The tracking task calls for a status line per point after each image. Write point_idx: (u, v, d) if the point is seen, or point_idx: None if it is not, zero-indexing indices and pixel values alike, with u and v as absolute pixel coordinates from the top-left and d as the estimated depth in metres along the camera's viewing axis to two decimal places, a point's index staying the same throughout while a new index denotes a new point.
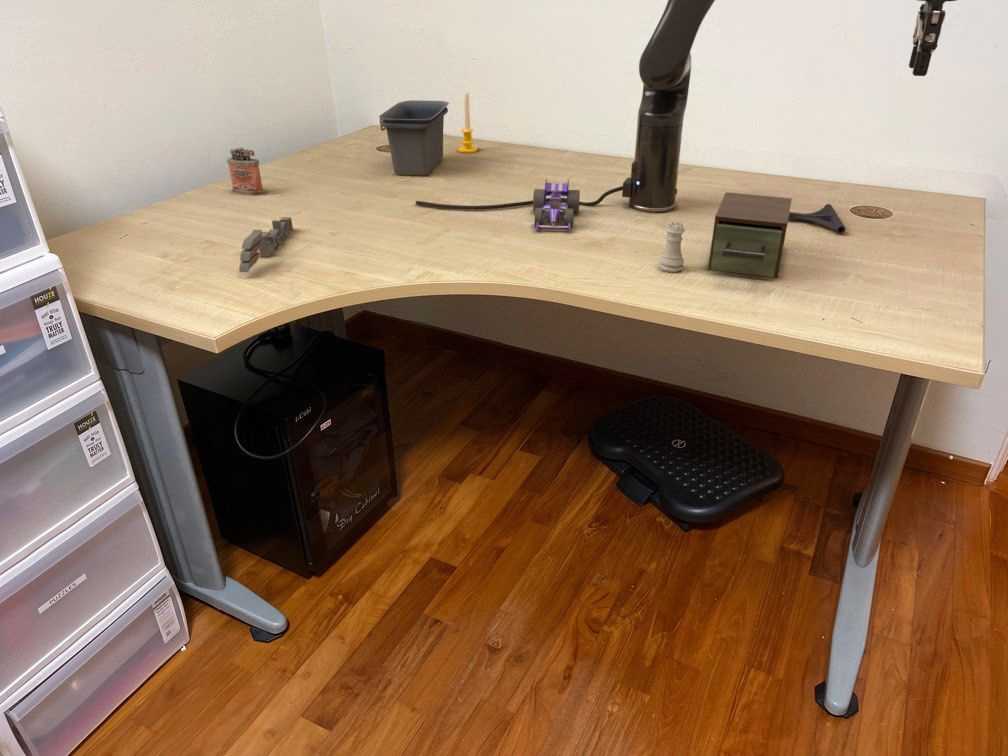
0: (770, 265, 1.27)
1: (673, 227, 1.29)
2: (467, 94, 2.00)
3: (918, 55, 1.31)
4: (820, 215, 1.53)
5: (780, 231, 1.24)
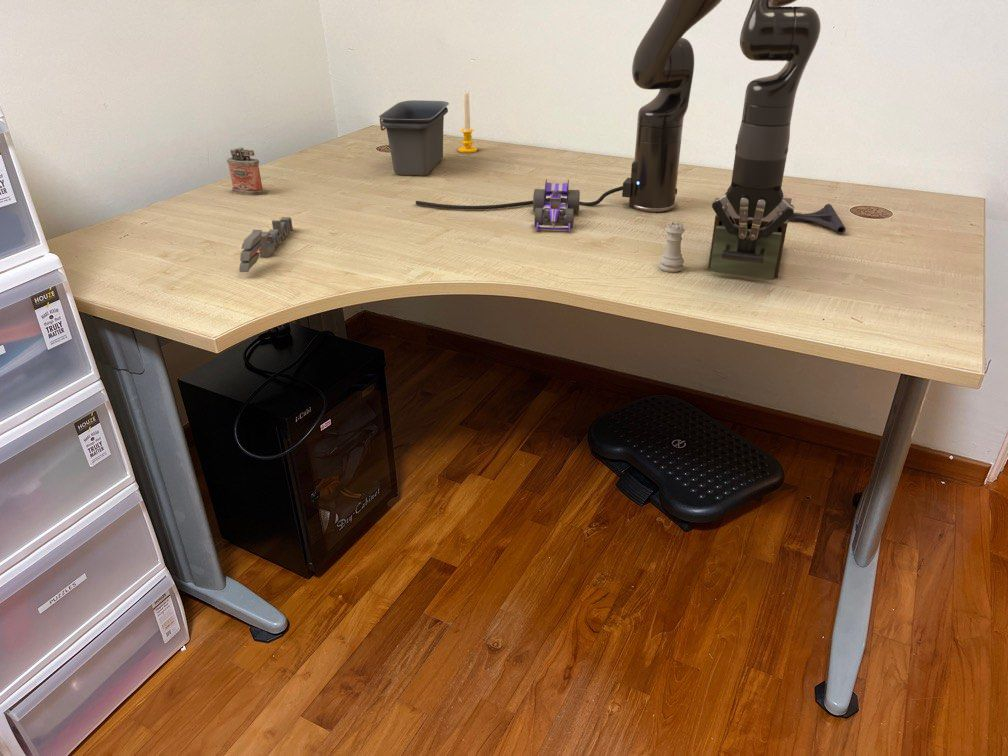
0: (770, 267, 1.26)
1: (673, 227, 1.29)
2: (467, 94, 2.00)
3: None
4: (820, 215, 1.53)
5: (780, 233, 1.23)
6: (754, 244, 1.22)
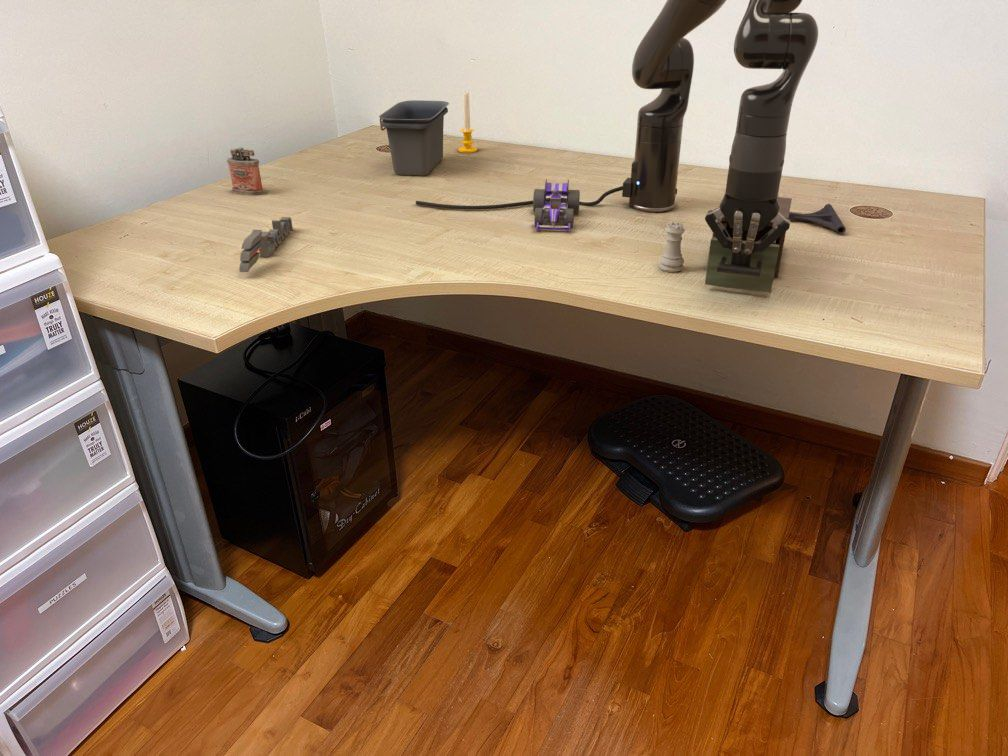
0: (767, 281, 1.21)
1: (673, 227, 1.29)
2: (467, 94, 2.00)
3: None
4: (820, 215, 1.53)
5: (777, 245, 1.19)
6: (749, 258, 1.17)
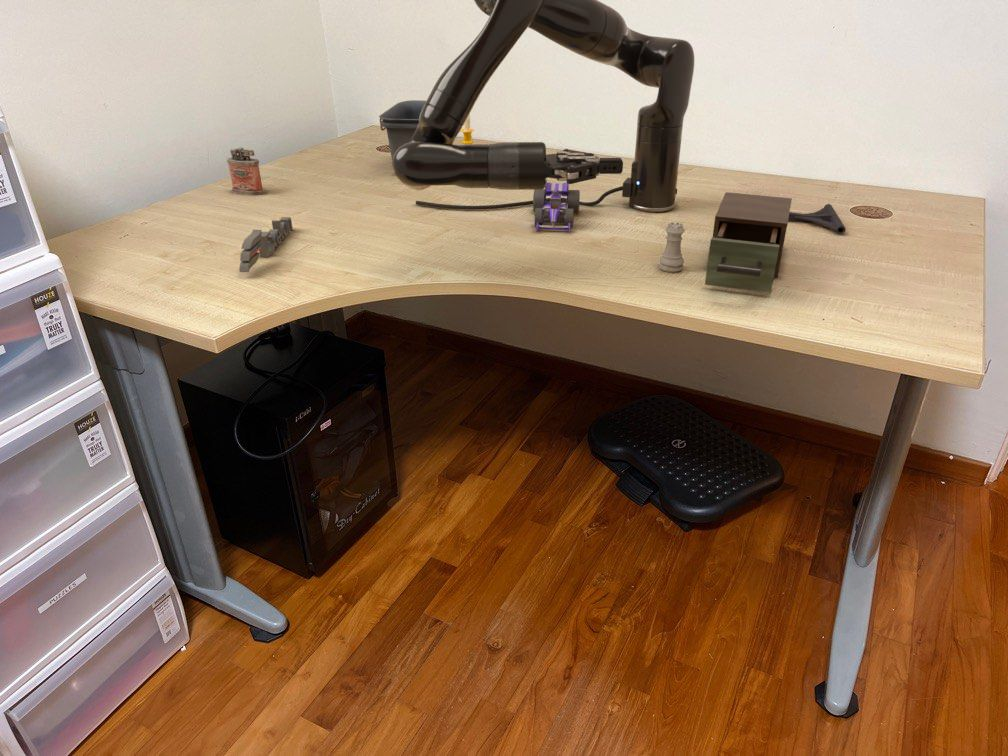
0: (767, 281, 1.21)
1: (673, 227, 1.29)
2: None
3: None
4: (820, 215, 1.53)
5: (777, 245, 1.19)
6: None
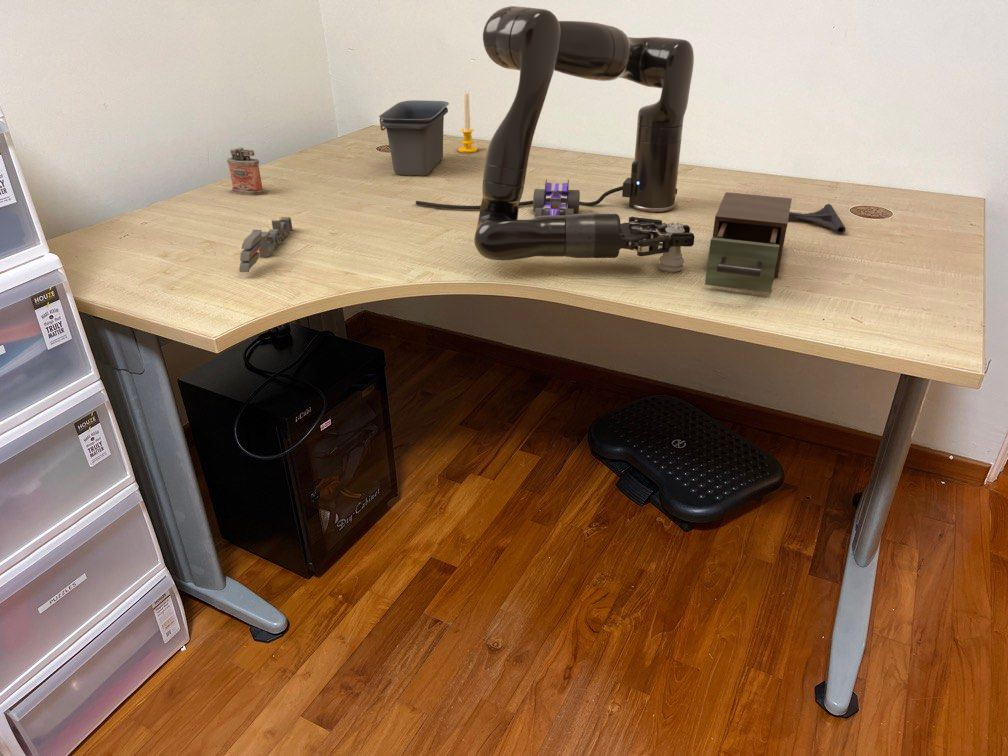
0: (767, 281, 1.21)
1: (673, 227, 1.29)
2: (467, 94, 2.00)
3: None
4: (820, 215, 1.53)
5: (777, 245, 1.19)
6: None
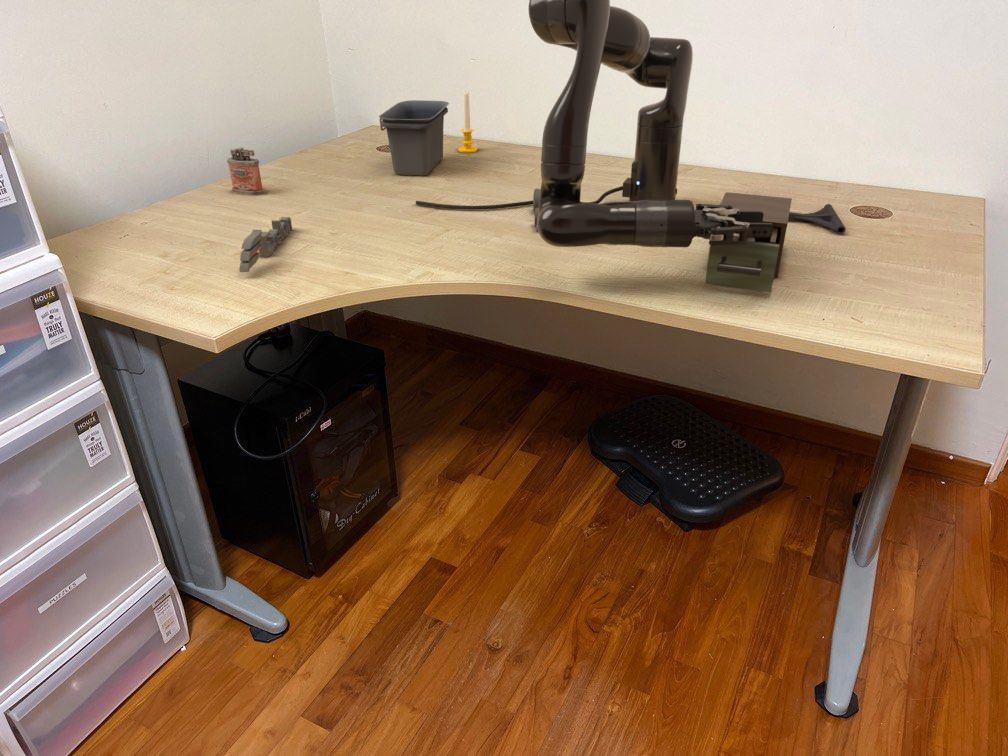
0: (767, 280, 1.21)
1: None
2: (467, 94, 2.00)
3: None
4: (820, 215, 1.53)
5: (777, 245, 1.19)
6: None
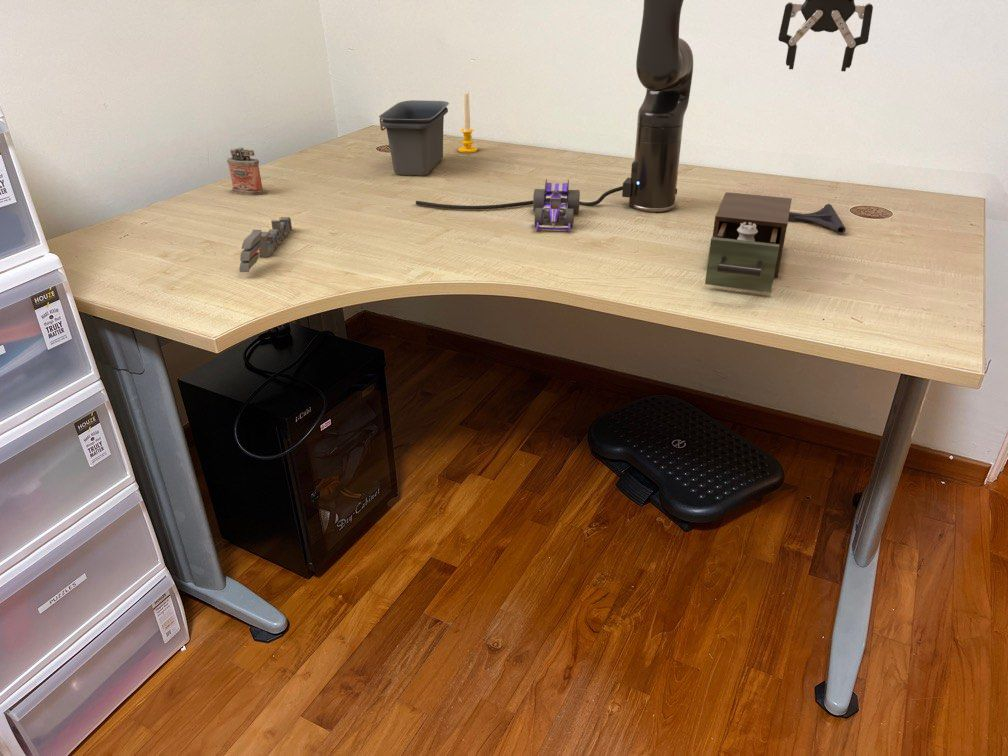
0: (767, 280, 1.21)
1: (746, 228, 1.22)
2: (467, 94, 2.00)
3: None
4: (820, 215, 1.53)
5: (777, 245, 1.19)
6: (852, 52, 1.29)
